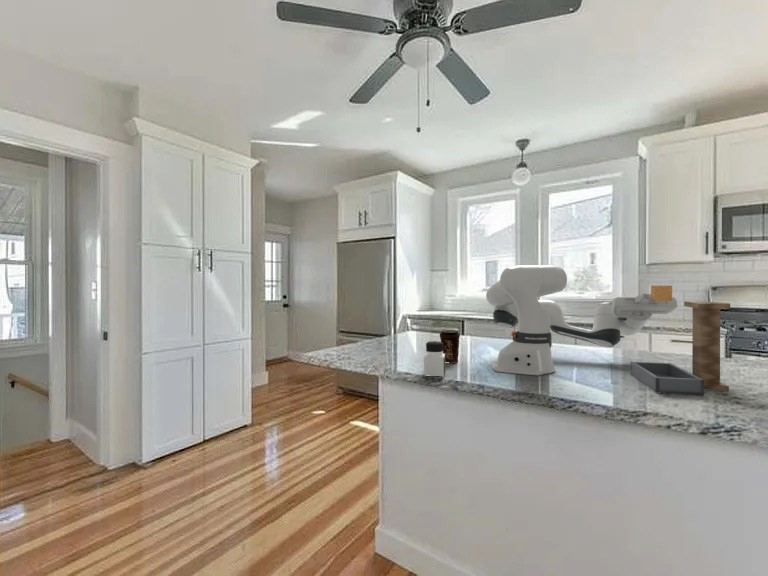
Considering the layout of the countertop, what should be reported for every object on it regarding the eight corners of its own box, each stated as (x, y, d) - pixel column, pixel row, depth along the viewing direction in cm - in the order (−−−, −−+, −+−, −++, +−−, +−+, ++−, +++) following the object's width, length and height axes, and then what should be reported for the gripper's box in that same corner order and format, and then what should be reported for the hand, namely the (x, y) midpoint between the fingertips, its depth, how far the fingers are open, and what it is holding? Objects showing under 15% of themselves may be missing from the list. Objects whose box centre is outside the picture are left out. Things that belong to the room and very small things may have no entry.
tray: (655, 392, 115) (655, 377, 115) (630, 374, 136) (630, 361, 136) (703, 395, 112) (704, 379, 112) (670, 376, 133) (670, 363, 133)
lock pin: (654, 300, 128) (654, 285, 128) (638, 298, 143) (638, 285, 143) (672, 301, 127) (672, 285, 127) (653, 298, 141) (653, 284, 141)
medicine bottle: (444, 377, 137) (443, 343, 137) (424, 376, 138) (423, 343, 138) (445, 372, 144) (444, 340, 144) (426, 372, 145) (425, 339, 145)
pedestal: (697, 389, 117) (698, 303, 117) (683, 382, 126) (684, 301, 125) (729, 391, 115) (730, 303, 114) (713, 383, 124) (713, 301, 123)
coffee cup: (439, 359, 166) (439, 329, 166) (459, 359, 165) (459, 329, 165) (440, 364, 158) (439, 332, 157) (461, 364, 157) (460, 332, 156)
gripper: (671, 319, 146) (686, 303, 134) (609, 318, 151) (619, 303, 140) (667, 304, 149) (682, 287, 137) (607, 304, 154) (616, 287, 143)
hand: (649, 295), depth 138 cm, fingers closed on lock pin
